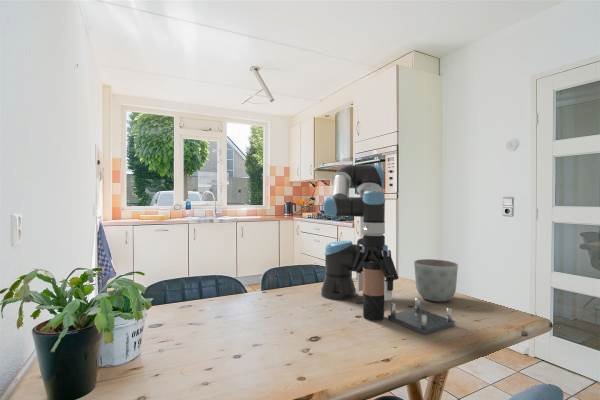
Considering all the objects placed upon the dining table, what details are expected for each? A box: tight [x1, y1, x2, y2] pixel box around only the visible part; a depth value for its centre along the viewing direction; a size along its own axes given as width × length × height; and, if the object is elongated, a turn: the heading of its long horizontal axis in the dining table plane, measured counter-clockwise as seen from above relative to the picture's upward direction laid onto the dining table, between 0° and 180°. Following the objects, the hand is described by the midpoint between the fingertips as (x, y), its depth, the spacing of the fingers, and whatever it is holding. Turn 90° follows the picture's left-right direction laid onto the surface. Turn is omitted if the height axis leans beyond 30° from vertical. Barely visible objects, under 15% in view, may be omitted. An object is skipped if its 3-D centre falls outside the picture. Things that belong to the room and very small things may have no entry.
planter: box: [413, 258, 459, 303], centre depth 135 cm, size 17×17×15 cm
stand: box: [387, 297, 456, 336], centre depth 108 cm, size 15×15×6 cm
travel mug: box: [362, 260, 386, 322], centre depth 113 cm, size 8×8×20 cm
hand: (373, 295), depth 113 cm, fingers open, 13 cm apart
